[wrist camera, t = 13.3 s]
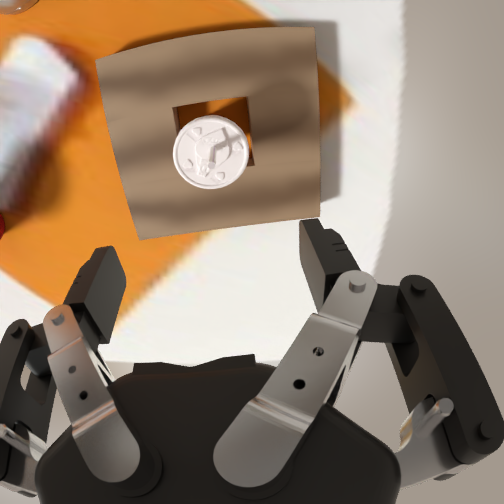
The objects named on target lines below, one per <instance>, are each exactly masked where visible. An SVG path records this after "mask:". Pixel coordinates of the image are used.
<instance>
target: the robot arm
mask: <svg viewBox="0 0 504 504" xmlns="http://www.w3.org/2000/svg"><path fill="white" fill-rule="evenodd" d="M37 1H38V0H0V14H19V13H21V12H24V11H26V10H27V9H29V8H30V7H32V6H33V5H34V4H35V3H36V2H37ZM299 252H300V261H301V265H302V268H303V271H304V274H305V277H306V280H307V282H308V285H309V288H310V291H311V294H312V297H313V300H314V303H315V306H316V309H317V312H318V314H316V313H312V314H311V315H310V317H309V318H308V320H307V321H306V323H305V325H304V326H303V328H302V329H301V331H300V332H299V334H298V336H297V337H296V339H295V340H294V342H293V343H292V345H291V347H290V348H289V350H288V351H287V353H286V354H285V356H284V357H283V359H282V360H281V362H280V364H279V365H278V366H277V367H274V366H271V365H268V364H263V363H256V361H255V355H254V354H249V355H241V356H232V357H223V358H220V359H217V360H213V361H210V362H207V363H204V364H200V365H197V366H193V367H187V366H181V365H175V364H169V363H163V362H153V363H134V367H133V372H132V373H129V374H126V375H124V376H122V377H120V378H118V379H117V380H115V378H114V377H113V375H112V373H111V371H110V370H109V368H108V366H107V364H106V362H105V361H104V359H103V357H102V355H101V353H100V352H99V350H98V349H97V348H98V345H99V344H109V342H110V338H111V335H112V331H113V328H114V324H115V321H116V317H117V314H118V310H119V307H120V304H121V301H122V297H123V294H124V291H125V288H126V276H125V273H124V270H123V268H122V266H121V263H120V261H119V258H118V256H117V253H116V251H115V249H114V247H113V246H106V247H100V248H96V249H95V251H94V252H93V254H92V256H91V258H90V260H88V261H87V262H86V263H85V264H84V265H83V266H82V267H81V268H80V270H79V272H78V274H77V276H76V278H75V280H74V282H73V284H72V286H71V288H70V290H69V292H68V294H67V296H66V298H65V300H64V302H63V305H58V306H56V307H54V308H53V309H51V310H50V311H49V312H48V313H47V314H46V316H45V318H44V320H43V323H42V324H39V325H36V326H33V327H31V326H30V325H29V323H28V322H27V321H26V320H25V319H19V320H16V321H15V322H13V323H12V324H11V325H10V326H9V327H8V328H7V330H6V332H5V334H4V336H3V338H2V341H1V343H0V485H1V486H3V487H5V488H7V489H9V490H11V491H14V492H18V493H20V494H23V495H25V496H27V497H35V496H36V495H38V497H39V500H40V504H395V502H396V499H397V495H398V493H399V491H400V490H403V489H406V488H409V487H412V486H415V485H418V484H421V483H423V482H426V481H428V480H431V479H434V480H446V479H448V478H450V477H452V476H454V475H456V474H458V473H459V472H461V471H463V470H465V469H467V468H468V467H470V466H472V465H473V464H475V463H477V462H478V461H480V460H482V459H483V458H485V457H487V456H488V455H490V454H491V453H493V452H494V451H495V450H497V449H498V448H499V447H500V446H501V444H502V442H503V440H504V420H503V418H502V415H501V413H500V410H499V408H498V406H497V403H496V401H495V398H494V396H493V394H492V392H491V389H490V387H489V385H488V382H487V380H486V378H485V376H484V374H483V372H482V370H481V368H480V366H479V363H478V361H477V360H476V357H475V355H474V353H473V352H472V350H471V348H470V346H469V344H468V342H467V340H466V338H465V336H464V335H463V333H462V331H461V329H460V327H459V326H458V324H457V322H456V320H455V319H454V317H453V315H452V314H451V312H450V310H449V308H448V307H447V305H446V304H445V302H444V300H443V298H442V297H441V295H440V293H439V292H438V290H437V289H436V287H435V285H434V284H433V283H432V282H431V281H430V280H429V279H427V278H425V277H422V276H420V275H409V276H406V277H404V278H403V279H402V280H401V282H400V286H392V285H381V284H377V282H376V280H375V279H374V277H373V276H371V275H370V274H368V273H366V272H363V271H361V270H360V268H359V266H358V265H357V263H356V261H355V259H354V258H353V256H352V254H351V252H350V251H349V250H348V247H347V245H346V244H345V242H344V240H343V239H342V237H341V235H340V234H338V233H337V232H336V231H334V230H333V229H324V228H323V226H322V225H321V223H320V221H319V219H318V218H315V219H307V220H300V222H299ZM363 341H367V342H382V343H383V342H384V343H385V344H386V347H387V350H388V353H389V355H390V358H391V361H392V363H393V366H394V369H395V372H396V375H397V377H398V380H399V383H400V386H401V389H402V392H403V395H404V398H405V401H406V405H407V408H408V411H409V414H410V415H409V416H408V417H407V418H406V419H405V421H404V422H403V424H402V426H401V429H400V440H401V443H400V448H399V450H398V452H396V453H393V451H392V450H391V449H390V448H389V447H388V446H387V445H386V444H385V443H383V442H382V441H380V440H379V439H377V438H376V437H375V436H373V435H372V434H370V433H369V432H367V431H366V430H364V429H363V428H362V427H360V426H359V425H357V424H356V423H355V422H353V421H352V420H350V419H349V418H348V417H346V416H345V415H343V414H342V413H341V412H339V411H338V410H337V409H335V408H334V406H335V404H336V402H337V400H338V398H339V396H340V394H341V391H342V389H343V387H344V384H345V382H346V379H347V377H348V375H349V372H350V370H351V368H352V366H353V363H354V361H355V359H356V357H357V355H358V352H359V350H360V347H361V345H362V343H363ZM24 365H26V366H27V367H28V368H29V369H30V370H31V373H30V376H29V380H28V383H27V387H26V390H24V389H23V388H22V386H21V382H20V378H21V374H22V371H23V368H24ZM56 389H58V391H59V394H60V397H61V400H62V402H63V405H64V407H65V409H66V412H67V415H68V417H69V419H70V421H71V425H70V426H69V427H68V428H67V429H66V430H65V432H63V434H62V435H61V436H60V437H59V438H58V439H57V440H56V441H55V442H54V443H53V444H52V445H51V446H50V447H49V448H48V449H47V446H46V441H47V434H48V429H49V423H50V418H51V412H52V408H53V403H54V398H55V394H56Z"/></svg>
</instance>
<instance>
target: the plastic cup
mask: <svg viewBox="0 0 504 504" xmlns="http://www.w3.org/2000/svg"><path fill="white" fill-rule="evenodd" d="M4 230H5V222H4V219H3V217H2V215H1V213H0V239H1V238H2V236H3V233H4Z"/></svg>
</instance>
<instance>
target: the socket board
mask: <svg viewBox="0 0 504 504" xmlns="http://www.w3.org/2000/svg"><path fill="white" fill-rule="evenodd" d="M95 61H96V68H97V74H98V80H99V85H100V91H101V96H102V101H103V106H104V111H105V116H106V121H107V125H108V130H109V134H110V138H111V143H112V147H113V151H114V155H115V159H116V163H117V167H118V170H119V174H120V178H121V181H122V185H123V189H124V192H125V195H126V199H127V202H128V206H129V209H130V212H131V215H132V219H133V222H134V225H135V228H136V231H137V234H138V237H139V240H145V239H151V238H158V237H165V236H172V235H179V234H186V233H193V232H201V231H208V230H216V229H223V228H231V227H239V226H246V225H254V224H262V223H271V222H279V221H288V220H296V219H305V218H314V217H320V114H319V89H318V71H317V55H316V42H315V30H314V27H266V28H249V29H237V30H228V31H219V32H211V33H204V34H198V35H192V36H186V37H181V38H175V39H170V40H166V41H161V42H157V43H152V44H148V45H144V46H140V47H137V48H133V49H129V50H126V51H122V52H119V53H116V54H112V55H109V56H106V57H103V58H100V59H97V60H95ZM237 97H246V99H247V109H248V118H249V128H250V138H251V148H252V158H248V163H247V166H246V168H245V170H244V171H243V173H242V174H241V175H240V177H239V178H238V179H236V180H235V181H234V182H232V183H231V184H229V185H227V186H224V187H221V188H217V189H204V188H200V187H197V186H194V185H192V184H190V183H189V182H187V181H186V180H185V179H184V178H183V177H182V176H181V175H180V174H179V172H178V171H177V169H176V167H175V164H174V160H173V148H174V144H175V140H176V138H177V136H178V134H179V132H180V131H181V129H180V123H179V117H178V111H177V106H182V105H188V104H194V103H200V102H206V101H213V100H220V99H228V98H237Z"/></svg>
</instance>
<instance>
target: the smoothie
mask: <svg viewBox="0 0 504 504" xmlns="http://www.w3.org/2000/svg"><path fill="white" fill-rule="evenodd" d="M248 158H249V145H248V141H247V138H246V136H245V134H244V132H243V131H242V129H241V128H240V127H239V126H238V125H237V124H236V123H234V122H233V121H231V120H229V119H227V118H224V117H222V116H219V115H209V116H203V117H199V118H196V119H194V120H193V121H191V122H189V123H188V124H186V125H185V126H184V128H183V129H182V130H181V131H180V132H179V134H178V136H177V138H176V140H175V144H174V148H173V160H174V164H175V167H176V169H177V171H178V172H179V174H180V175H181V176H182V177H183V178H184V179H185V180H186V181H187V182H189V183H190V184H192V185H194V186H197V187H200V188H204V189H217V188H221V187H224V186H227V185H229V184H231V183H232V182H234V181H235V180H236V179H238V178H239V177H240V175H241V174H242V173H243V171H244V170H245V168H246V166H247V163H248Z"/></svg>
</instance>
